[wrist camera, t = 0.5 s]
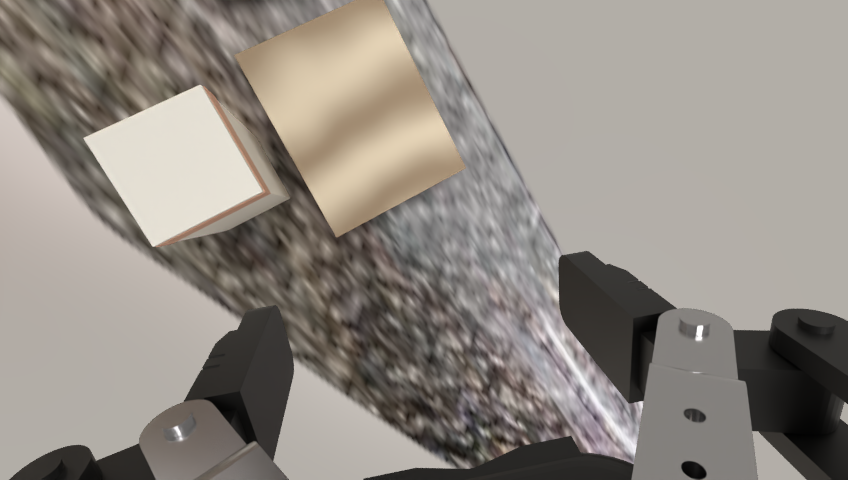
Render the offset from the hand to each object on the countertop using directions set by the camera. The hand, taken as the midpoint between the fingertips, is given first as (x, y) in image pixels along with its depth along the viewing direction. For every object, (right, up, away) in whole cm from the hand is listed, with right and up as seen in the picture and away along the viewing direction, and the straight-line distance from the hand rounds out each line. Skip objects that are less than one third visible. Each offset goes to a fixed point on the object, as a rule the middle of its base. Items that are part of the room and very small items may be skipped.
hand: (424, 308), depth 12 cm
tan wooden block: (-6, +11, +24) cm, 27 cm away
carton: (-14, +6, +22) cm, 27 cm away
